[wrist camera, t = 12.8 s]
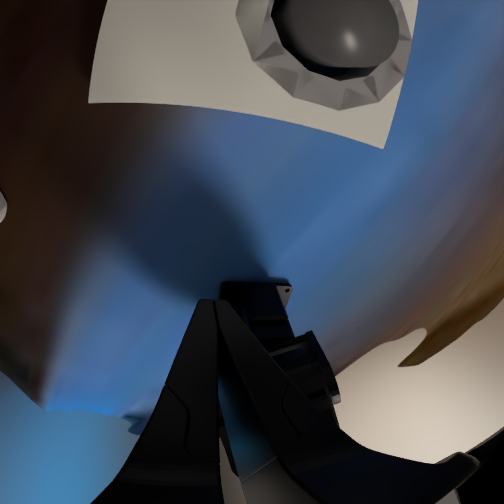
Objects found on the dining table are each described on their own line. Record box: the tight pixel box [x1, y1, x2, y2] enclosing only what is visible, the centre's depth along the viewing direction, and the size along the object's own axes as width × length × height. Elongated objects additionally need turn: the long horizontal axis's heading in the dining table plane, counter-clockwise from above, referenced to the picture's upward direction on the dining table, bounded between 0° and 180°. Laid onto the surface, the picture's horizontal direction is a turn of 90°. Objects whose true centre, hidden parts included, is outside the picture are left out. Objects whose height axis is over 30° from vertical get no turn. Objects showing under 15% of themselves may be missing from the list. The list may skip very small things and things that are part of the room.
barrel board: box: [88, 0, 418, 149], centre depth 11 cm, size 14×18×3 cm
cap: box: [272, 0, 399, 68], centre depth 11 cm, size 6×6×5 cm
